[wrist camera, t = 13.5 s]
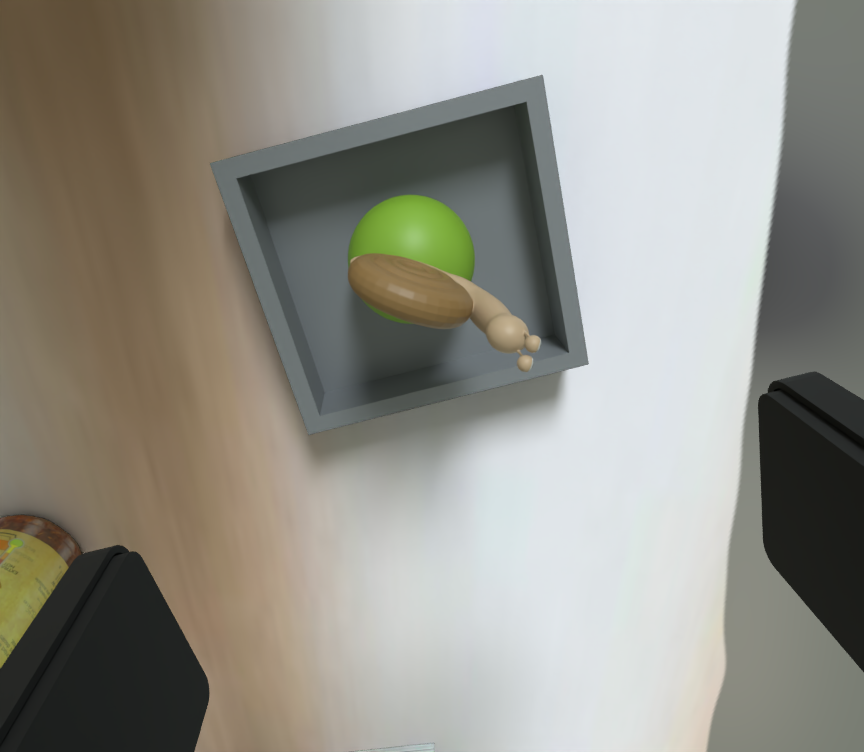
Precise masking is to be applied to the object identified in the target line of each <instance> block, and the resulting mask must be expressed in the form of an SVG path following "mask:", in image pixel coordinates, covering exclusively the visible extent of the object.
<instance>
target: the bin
mask: <svg viewBox="0 0 864 752" xmlns="http://www.w3.org/2000/svg"><path fill="white" fill-rule="evenodd" d="M210 165H211V168H212V171H213V174H214V176H215V179H216V182H217V185H218V187H219V190H220V193H221V196H222V198H223V201H224V204H225V207H226V209H227V212H228V215H229V218H230V220H231V223H232V226H233V229H234V231H235V234H236V237H237V240H238V242H239V245H240V248H241V251H242V253H243V256H244V259H245V261H246V264H247V267H248V270H249V272H250V275H251V278H252V281H253V283H254V286H255V289H256V292H257V294H258V297H259V300H260V303H261V305H262V308H263V311H264V314H265V316H266V319H267V322H268V325H269V327H270V330H271V333H272V336H273V338H274V341H275V344H276V347H277V349H278V352H279V355H280V358H281V360H282V363H283V366H284V369H285V371H286V374H287V377H288V380H289V382H290V385H291V388H292V391H293V393H294V396H295V399H296V402H297V404H298V407H299V410H300V413H301V415H302V418H303V421H304V424H305V426H306V429H307V432H308V435H310V434H314V433H318V432H322V431H326V430H330V429H334V428H338V427H342V426H346V425H350V424H354V423H358V422H362V421H365V420H369V419H373V418H377V417H381V416H385V415H389V414H393V413H397V412H401V411H405V410H409V409H413V408H417V407H421V406H425V405H429V404H433V403H437V402H441V401H445V400H449V399H453V398H457V397H461V396H465V395H469V394H473V393H477V392H481V391H485V390H489V389H492V388H496V387H500V386H504V385H508V384H512V383H516V382H520V381H524V380H528V379H532V378H536V377H540V376H544V375H548V374H552V373H556V372H560V371H564V370H568V369H572V368H576V367H580V366H584V365H588V364H589V363H588V357H587V350H586V344H585V338H584V332H583V325H582V319H581V313H580V306H579V300H578V294H577V287H576V281H575V275H574V268H573V262H572V256H571V249H570V243H569V237H568V231H567V224H566V218H565V212H564V205H563V199H562V193H561V186H560V180H559V174H558V167H557V161H556V155H555V148H554V142H553V136H552V130H551V123H550V117H549V111H548V104H547V98H546V92H545V85H544V79H543V75H540V76H536V77H532V78H529V79H525V80H521V81H517V82H514V83H510V84H506V85H502V86H499V87H495V88H491V89H487V90H483V91H480V92H476V93H472V94H468V95H465V96H461V97H457V98H453V99H450V100H446V101H442V102H438V103H435V104H431V105H427V106H423V107H420V108H416V109H412V110H408V111H404V112H401V113H397V114H393V115H389V116H386V117H382V118H378V119H374V120H371V121H367V122H363V123H359V124H356V125H352V126H348V127H344V128H341V129H337V130H333V131H329V132H326V133H322V134H318V135H314V136H310V137H307V138H303V139H299V140H295V141H292V142H288V143H284V144H280V145H277V146H273V147H269V148H265V149H262V150H258V151H254V152H250V153H247V154H243V155H239V156H235V157H231V158H228V159H224V160H220V161H216V162H213V163H210ZM401 195H421V196H426V197H429V198H432V199H435V200H437V201H439V202H441V203H443V204H445V205H446V206H448V207H449V208H450V209H451V210H453V211H454V212H455V213H456V214H457V215H458V216H459V217H460V219H461V220H462V221H463V223H464V224H465V226H466V228H467V229H468V231H469V234H470V236H471V239H472V242H473V246H474V253H475V267H474V273H473V277H472V280H471V282H472V283H474V284H475V285H477V286H478V287H480V288H482V289H483V290H485V291H487V292H488V293H490V294H491V295H493V296H494V297H496V298H497V299H498V300H499V301H500V302H502V303H503V304H504V305H505V306H506V308H507V309H508V310H509V311H510V313H511V314H512V315H514V316H516V317H518V318H520V319H521V320H522V321H523V322H524V323H525V324H526V326H527V328H528V331H529V335H530V336H531V335H536V336H538V337H539V338H540V339H541V347H540V349H539V350H538V351H537V352H535V353H531V352H529V351H527V350H526V348H524V349H522V350H521V351H520V352H521V353H522V354H523V355H529V356H531V357H532V358H533V361H534V363H533V367H532V369H531V370H530V371H528V372H522V371H521V370H519V368H518V367H517V360H518V358H519V357H520V355H519V354H518V353H517V352H516V353H512V354H506V353H502V352H499V351H497V350H496V349H494V348H493V347H492V346H491V345H490V343H489V342H488V340H487V337H486V334H485V333H483V332H482V331H481V330H480V329H479V328H478V327H477V326H476V325H475V324H474V323H473V322H472V320H471V319H470V318H469V319H468V320H467V321H466V322H465V323H464V324H463V325H461V326H459V327H456V328H452V329H436V328H430V327H424V326H421V325H417V324H405V323H399V322H395V321H391V320H389V319H386V318H384V317H382V316H380V315H379V314H377V313H376V312H374V311H373V310H372V309H370V308H369V307H368V306H367V305H366V304H365V303H364V302H363V300H362V299H361V298H360V297H359V296H358V295H357V294H356V293H355V292H354V291H353V289H352V288H351V286H350V284H349V281H348V249H349V244H350V240H351V237H352V235H353V232H354V230H355V228H356V226H357V225H358V223H359V222H360V220H361V219H362V218H363V217H364V215H365V214H366V213H367V212H368V211H369V210H371V209H372V208H373V207H374V206H376V205H377V204H379V203H381V202H383V201H385V200H387V199H390V198H393V197H396V196H401Z"/></svg>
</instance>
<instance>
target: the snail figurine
mask: <svg viewBox="0 0 864 752" xmlns="http://www.w3.org/2000/svg"><path fill="white" fill-rule="evenodd" d="M474 267H475V253H474V246H473V242H472V239H471V236H470V234H469V231H468V229H467V228H466V226H465V224H464V223H463V221H462V220H461V219H460V217H459V216H458V215H457V214H456V213H455V212H454V211H453V210H451V209H450V208H449V207H448V206H446V205H445V204H443V203H441V202H439V201H437V200H435V199H432V198H429V197H426V196H421V195H401V196H396V197H393V198H390V199H387V200H385V201H383V202H381V203H379V204H377V205H376V206H374V207H373V208H372V209H371V210H369V211H368V212H367V213H366V214H365V215H364V217H363V218H362V219H361V220H360V222H359V223H358V225H357V226H356V228H355V230H354V232H353V235H352V237H351V240H350V244H349V249H348V281H349V284H350V286H351V288H352V289H353V291H354V292H355V293H356V294H357V295H358V296H359V297H360V298H361V299H362V300H363V302H364V303H365V304H366V305H367V306H368V307H369V308H370V309H372V310H373V311H374V312H376V313H377V314H379V315H380V316H382V317H384V318H386V319H389V320H391V321H395V322H399V323H405V324H417V325H421V326H424V327H430V328H436V329H452V328H456V327H459V326H461V325H463V324H464V323H465V322H466V321H467V320H468V319H469V318H470V319H471V320H472V322H473V323H474V324H475V325H476V326H477V327H478V328H479V329H480V330H481V331H482V332H483V333H485V334H486V337H487V340H488V342H489V343H490V345H491V346H492V347H493V348H494V349H496V350H497V351H499V352H502V353H506V354H512V353H516V352H517V353H518V354H519V355H520V357H519V358H518V360H517V367H518V368H519V370H521V371H522V372H528V371H530V370H531V369H532V367H533V363H534V361H533V358H532V357H531V356H529V355H523V354H522V353H521V352H520V351H521V350H522V349H524V348H526V350H527V351H529V352H531V353H535V352H537V351H538V350H539V349H540V347H541V339H540V338H539V337H538V336H536V335H531V336H530V335H529V331H528V328H527V326H526V324H525V323H524V322H523V321H522V320H521V319H520V318H518V317H516V316H514V315H512V314H511V313H510V311H509V310H508V309H507V308H506V306H505V305H504V304H503V303H502V302H500V301H499V300H498V299H497V298H496V297H494V296H493V295H491V294H490V293H488V292H487V291H485V290H483V289H482V288H480V287H478V286H477V285H475V284H474V283H472V282H471V280H472V277H473V273H474Z"/></svg>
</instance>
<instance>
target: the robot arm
mask: <svg viewBox="0 0 864 752" xmlns="http://www.w3.org/2000/svg"><path fill="white" fill-rule="evenodd" d="M758 414H759V442H760V470H761V498H762V526H763V543H764V548H765V551H766V553H767V555H768V558H769V560H770V561H771V563H772V565H773V566H774V567H775V569H776V570H777V571H778V572H779V573H780V574H781V576H782V577H783V578H784V579H785V580H786V581H787V583H788V584H789V585H790V586H791V587H792V589H793V590H794V591H795V592H796V593H797V594H798V596H800V598H801V599H802V600H803V601H804V603H805V604H806V605H807V606H808V607H809V608H810V610H811V611H812V612H813V613H814V614H815V616H816V617H817V618H818V619H819V620H820V621H821V623H823V625H824V626H825V627H826V628H827V630H828V631H829V632H830V633H831V634H832V636H833V637H834V638H835V639H836V640H837V641H838V643H839V644H840V645H841V646H842V647H843V648H844V650H845V651H846V652H847V653H848V654H849V655H850V657H851V658H852V659H853V660H854V661H855V663H856V664H857V665H858V666H859V667H860V668H861V670H863V672H864V400H863V399H861V398H860V397H858V396H856V395H855V394H853V393H851V392H850V391H848V390H846V389H845V388H843V387H842V386H840V385H838V384H836V383H835V382H833V381H832V380H830V379H828V378H826V377H825V376H823V375H822V374H820V373H817V372H809V373H805V374H801V375H797V376H793V377H789V378H785V379H781V380H777V381H773V382H772V383H771V384H770V386H769V388H768V393H766V394H763V395H762V396H760V398H759V402H758ZM208 701H209V684H208V680H207V677H206V675H205V673H204V671H203V669H202V667H201V665H200V664H199V662H198V660H197V658H196V656H195V654H194V652H193V651H192V649H191V647H190V645H189V643H188V641H187V640H186V638H185V636H184V634H183V632H182V630H181V629H180V627H179V625H178V623H177V621H176V619H175V617H174V616H173V614H172V612H171V610H170V608H169V606H168V605H167V603H166V601H165V599H164V597H163V595H162V593H161V592H160V590H159V588H158V586H157V584H156V582H155V581H154V579H153V577H152V575H151V573H150V571H149V569H148V568H147V566H146V564H145V562H144V560H143V559H142V557H141V556H140V554H138V553H137V552H133V551H132V552H129V551H128V549H126V548H125V547H124V546H120V545H116V546H112V547H108V548H104V549H100V550H96V551H92V552H88V553H84V554H81V555H79V556H77V557H76V558H75V559H74V560H73V562H72V563H71V565H70V566H69V568H68V569H67V571H66V572H65V574H64V575H63V577H62V578H61V580H60V581H59V583H58V584H57V586H56V587H55V589H54V590H53V592H52V593H51V594H50V596H49V597H48V599H47V600H46V602H45V603H44V605H43V606H42V608H41V609H40V611H39V612H38V614H37V615H36V617H35V618H34V620H33V621H32V623H31V624H30V626H29V627H28V628H27V630H26V631H25V633H24V634H23V636H22V637H21V639H20V640H19V642H18V643H17V645H16V646H15V648H14V649H13V651H12V652H11V654H10V655H9V657H8V658H7V660H6V661H5V662H4V664H3V665H2V667H1V668H0V752H194V751H195V747H196V744H197V740H198V737H199V733H200V730H201V726H202V723H203V719H204V716H205V713H206V709H207V706H208Z"/></svg>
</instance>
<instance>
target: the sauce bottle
mask: <svg viewBox="0 0 864 752" xmlns="http://www.w3.org/2000/svg"><path fill="white" fill-rule="evenodd" d="M81 554H82V553H81V552H80V549H79V546H78V544H77V543H76V542H75V541H74V540H73V538H72V537H71V536H70V534H68V533H66V532H65V531H64V530H62V529H61V528H60V527H59V526H57V525H55V524H54V523H52V522H50V521H48V520H46V519H43V518H40V517H35V516H28V515H14V516H7V517H2V518H0V668H1V667H2V665H3V664H4V662H5V661H6V660H7V658H8V657H9V655H10V654H11V652H12V651H13V649H14V648H15V646H16V645H17V643H18V642H19V640H20V639H21V637H22V636H23V634H24V633H25V631H26V630H27V628H28V627H29V626H30V624H31V623H32V621H33V620H34V618H35V617H36V615H37V614H38V612H39V611H40V609H41V608H42V606H43V605H44V603H45V602H46V600H47V599H48V597H49V596H50V594H51V593H52V592H53V590H54V589H55V587H56V586H57V584H58V583H59V581H60V580H61V578H62V577H63V575H64V574H65V572H66V571H67V569H68V568H69V566H70V565H71V563H72V562H73V560H74V559H75V558H76V557H77V556H79V555H81Z"/></svg>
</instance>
